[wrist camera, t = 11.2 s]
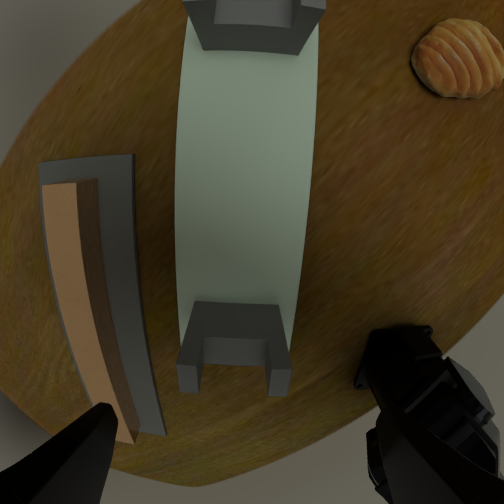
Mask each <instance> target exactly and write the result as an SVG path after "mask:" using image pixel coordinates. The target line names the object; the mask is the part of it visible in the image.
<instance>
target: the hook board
mask: <svg viewBox="0 0 504 504" xmlns="http://www.w3.org/2000/svg"><path fill="white" fill-rule="evenodd" d="M182 2H183V4H184V6H185V9H186V11H187V13H188V22H187V29H186V36H185V44H184V52H183V61H182V70H181V81H180V92H179V105H178V119H177V137H176V161H175V257H176V282H177V300H178V315H179V329H180V341H181V349H180V352H179V356H178V359H177V363H176V367H177V375H178V383H179V390H180V392H188V393H199V388H200V382H201V376H202V370H203V364H219V365H240V366H265V370H266V380H267V391H268V396H287V394H288V389H289V384H290V379H291V374H292V365H291V360H290V355H289V349H290V343H291V337H292V330H293V324H294V317H295V310H296V304H297V297H298V289H299V282H300V274H301V267H302V259H303V250H304V242H305V233H306V224H307V215H308V205H309V194H310V184H311V172H312V160H313V146H314V132H315V115H316V96H317V70H318V22H319V20H320V19H321V17H322V15H323V14H324V12H325V11H326V0H183V1H182Z"/></svg>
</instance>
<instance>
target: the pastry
mask: <svg viewBox="0 0 504 504" xmlns="http://www.w3.org/2000/svg"><path fill="white" fill-rule="evenodd" d="M411 62H412V66H413V68H414V69H415V71H416V73H417V75H418V77H419V78H420V80H421V81H422V82H423V83H424V84H425V85H426V86H427V87H428V88H429V89H430V90H432V91H434V92H436V93H438V94H439V95H441V96H442V97H457V98H460V99H462V98H467V97H472V98H481V97H482V96H484V95H485V94H486V93H488V92H489V91H497V90H498V89H499V88H500V86H501V84H502V81H503V78H504V51H503V49H502V46H501V44H500V43H499V41H498V40H497V39H496V38H495V37H494V36H493V35H492V34H491V33H490V32H489V30H488V29H487V28H486V27H484V26H483V25H481V24H480V23H478V22H476V21H472V20H467V19H466V20H461V19H457V18H449V19H447V20H446V21H443V22H439V23H437V24H436V25H435V26H434V27H433V28H432V29H431V30H430V31H429V32H428V33H427V35H425V36H424V37H423V38H422V39H421V40H420V41H419V42H418V43H417V45H416V46H415V48H414V51H413V54H412V56H411Z"/></svg>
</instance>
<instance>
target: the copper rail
mask: <svg viewBox="0 0 504 504" xmlns="http://www.w3.org/2000/svg"><path fill="white" fill-rule="evenodd" d="M42 196H43V209H44V220H45V229H46V237H47V245H48V251H49V258H50V263H51V269H52V274H53V279H54V284H55V289H56V293H57V298H58V302H59V306H60V310H61V314H62V318H63V321H64V325H65V328H66V332H67V335H68V339H69V342H70V345H71V348H72V351H73V354H74V357H75V360H76V363H77V366H78V368H79V371H80V374H81V376H82V379H83V382H84V384H85V387H86V389H87V392H88V394H89V396H90V399H91V401H92V403H93V406H95V405H96V404H98V403H99V402H104V403H109V404H111V405H112V406H113V409H114V411H115V413H116V415H117V418H118V429H117V434H116V439H115V440H117V441H121V442H125V443H130V444H135V441H136V438H137V435H138V432H139V428H140V425H141V424H140V421H139V418H138V415H137V412H136V409H135V406H134V403H133V399H132V396H131V393H130V389H129V386H128V383H127V379H126V375H125V372H124V368H123V364H122V360H121V356H120V352H119V348H118V343H117V339H116V334H115V330H114V325H113V320H112V315H111V309H110V304H109V298H108V291H107V285H106V278H105V271H104V263H103V254H102V245H101V234H100V221H99V205H98V178H83V179H68V180H62V181H57V182H53V183H49V184H45V185H42Z"/></svg>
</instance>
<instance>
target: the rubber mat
mask: <svg viewBox="0 0 504 504" xmlns="http://www.w3.org/2000/svg"><path fill="white" fill-rule="evenodd" d="M83 178H98V205H99V221H100V234H101V245H102V254H103V263H104V271H105V278H106V285H107V291H108V298H109V304H110V309H111V315H112V320H113V325H114V330H115V334H116V339H117V343H118V348H119V352H120V356H121V360H122V364H123V368H124V372H125V375H126V379H127V383H128V386H129V389H130V393H131V396H132V399H133V403H134V406H135V409H136V412H137V415H138V418H139V421H140V424H141V425H140V428H139V432H144V433H149V434H155V435H161V436H166V435H167V431H166V427H165V423H164V419H163V415H162V411H161V407H160V403H159V398H158V394H157V389H156V384H155V380H154V375H153V369H152V364H151V359H150V353H149V347H148V341H147V335H146V328H145V321H144V314H143V306H142V298H141V289H140V279H139V269H138V257H137V242H136V223H135V154H125V155H108V156H95V157H83V158H73V159H64V160H55V161H48V162H40V163H39V192H40V206H41V217H42V227H43V235H44V242H45V249H46V256H47V261H48V267H49V272H50V277H51V282H52V287H53V292H54V296H55V300H56V304H57V308H58V312H59V316H60V319H61V323H62V327H63V330H64V333H65V337H66V340H67V343H68V346H69V349H70V352H71V355H72V358H73V361H74V364H75V367H76V369H77V372H78V375H79V377H80V380H81V382H82V385H83V387H84V390H85V392H86V395H87V397H88V399H89V401H90V404H91V406H92V407H94V406H93V403H92V401H91V399H90V396H89V394H88V392H87V389H86V387H85V384H84V382H83V379H82V376H81V374H80V371H79V368H78V366H77V363H76V360H75V357H74V354H73V351H72V348H71V345H70V342H69V339H68V335H67V332H66V328H65V325H64V321H63V318H62V314H61V310H60V306H59V302H58V298H57V293H56V289H55V284H54V279H53V274H52V269H51V263H50V258H49V251H48V245H47V237H46V229H45V220H44V209H43V196H42V185H45V184H49V183H53V182H57V181H62V180H68V179H83Z"/></svg>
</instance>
